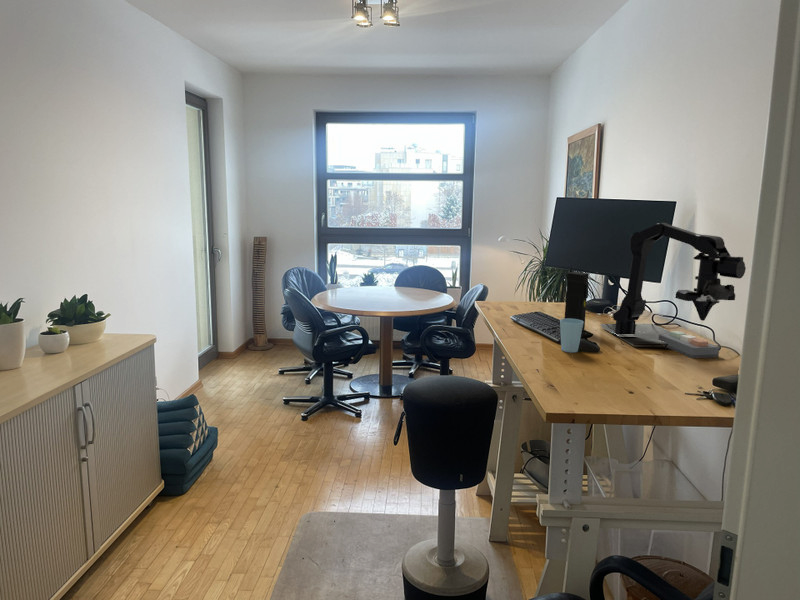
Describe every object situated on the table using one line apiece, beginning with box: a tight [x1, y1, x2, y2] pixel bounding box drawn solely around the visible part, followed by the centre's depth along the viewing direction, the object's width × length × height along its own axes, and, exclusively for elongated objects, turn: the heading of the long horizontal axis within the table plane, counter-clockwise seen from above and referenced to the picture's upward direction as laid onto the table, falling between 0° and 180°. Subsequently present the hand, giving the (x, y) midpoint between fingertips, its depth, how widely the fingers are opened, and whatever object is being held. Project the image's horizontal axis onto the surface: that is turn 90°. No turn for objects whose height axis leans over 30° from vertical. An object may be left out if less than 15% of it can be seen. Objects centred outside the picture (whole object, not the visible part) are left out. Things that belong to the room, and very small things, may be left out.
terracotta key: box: [691, 338, 709, 347], centre depth 196 cm, size 4×4×2 cm
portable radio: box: [563, 265, 590, 331], centre depth 226 cm, size 8×6×25 cm
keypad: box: [658, 333, 720, 359], centre depth 201 cm, size 10×18×4 cm, turn 12°
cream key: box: [680, 334, 698, 342], centre depth 201 cm, size 4×4×2 cm
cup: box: [559, 318, 584, 353], centre depth 197 cm, size 8×8×10 cm
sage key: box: [669, 330, 687, 338], centre depth 206 cm, size 4×4×2 cm
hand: (702, 320), depth 194 cm, fingers closed
